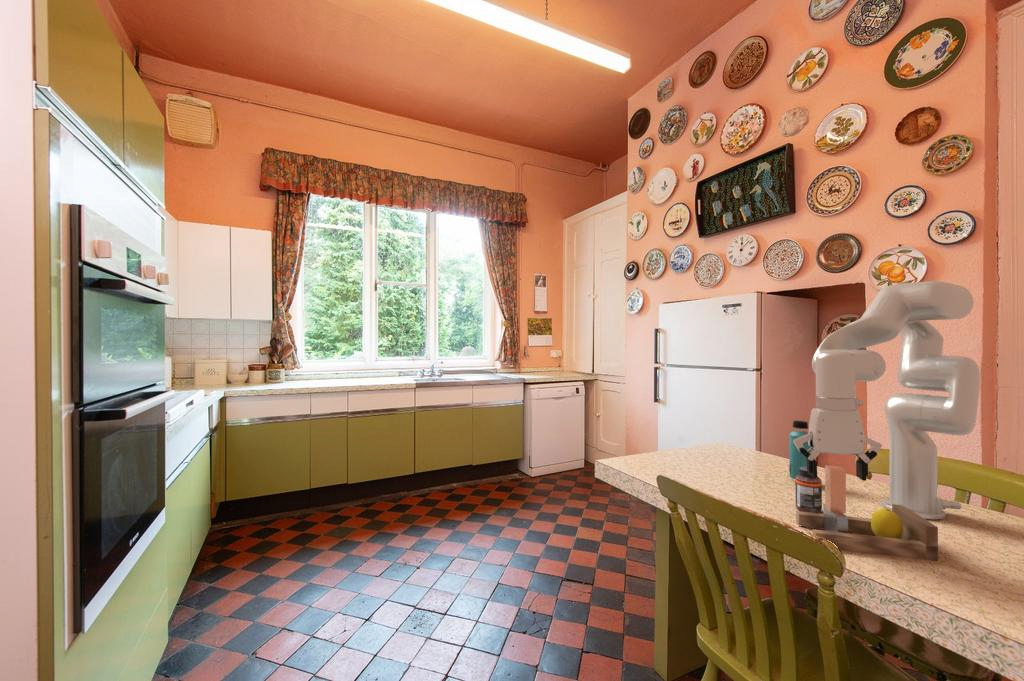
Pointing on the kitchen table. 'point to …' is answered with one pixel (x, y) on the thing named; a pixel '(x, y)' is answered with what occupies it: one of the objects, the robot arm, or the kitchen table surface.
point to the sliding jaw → (835, 500)
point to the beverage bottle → (794, 454)
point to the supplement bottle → (808, 492)
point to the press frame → (913, 542)
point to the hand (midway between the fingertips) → (836, 477)
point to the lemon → (886, 524)
